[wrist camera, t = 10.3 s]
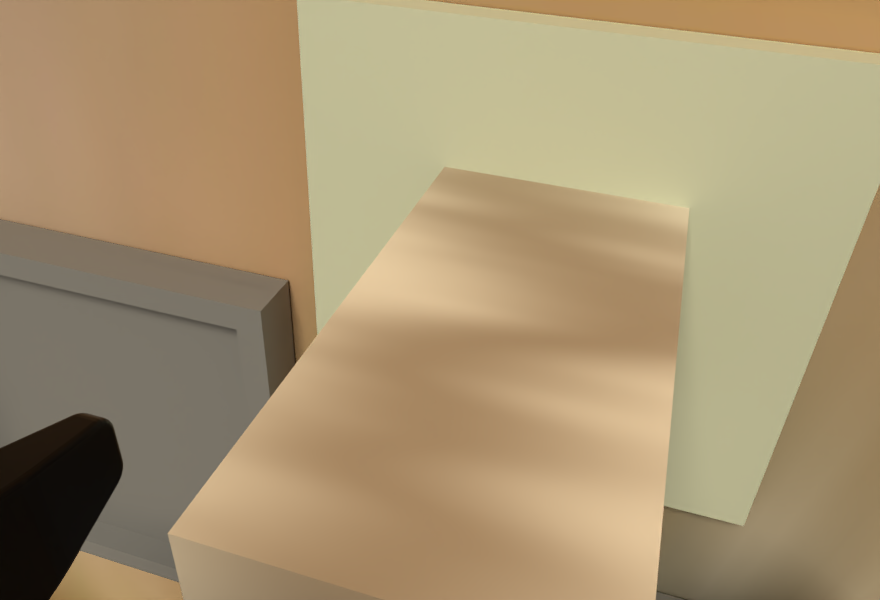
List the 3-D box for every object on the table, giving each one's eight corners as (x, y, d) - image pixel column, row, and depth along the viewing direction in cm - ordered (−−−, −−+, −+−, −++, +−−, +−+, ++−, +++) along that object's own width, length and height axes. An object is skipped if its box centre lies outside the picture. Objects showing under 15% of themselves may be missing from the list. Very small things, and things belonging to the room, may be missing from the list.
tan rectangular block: (689, 208, 12) (648, 680, 6) (640, 404, 14) (570, 898, 8) (444, 166, 13) (167, 533, 6) (435, 357, 15) (223, 767, 9)
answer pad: (915, 57, 10) (925, 70, 10) (743, 503, 16) (743, 526, 15) (313, -14, 12) (296, -6, 12) (333, 401, 18) (322, 418, 17)
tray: (287, 280, 16) (260, 311, 15) (313, 583, 22) (294, 619, 21) (-101, 197, 18) (-146, 220, 17) (15, 491, 24) (-15, 520, 23)
